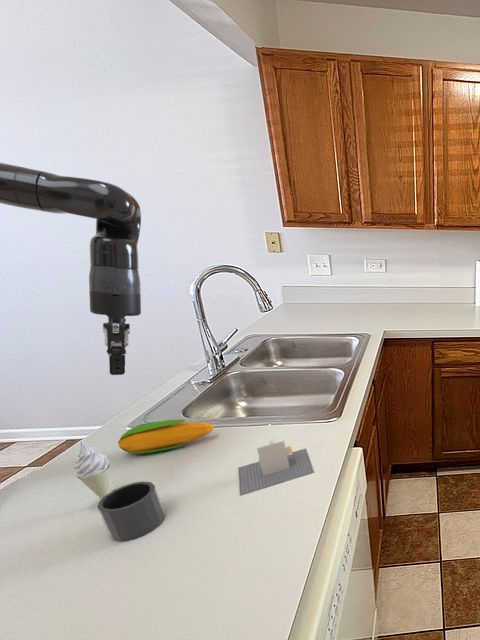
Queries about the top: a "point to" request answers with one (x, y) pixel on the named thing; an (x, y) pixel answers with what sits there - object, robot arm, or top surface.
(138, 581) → the top surface
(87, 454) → the ice cream cone
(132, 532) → the cone holder
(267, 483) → the architectural model
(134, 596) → the top surface
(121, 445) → the corn
